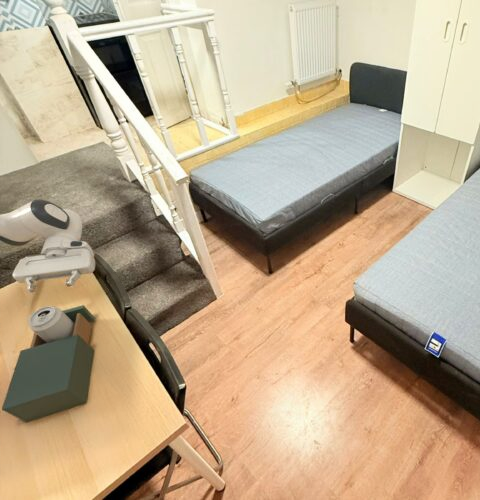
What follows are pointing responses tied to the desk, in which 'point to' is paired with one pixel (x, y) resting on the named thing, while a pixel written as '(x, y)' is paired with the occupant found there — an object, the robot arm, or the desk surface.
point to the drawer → (81, 321)
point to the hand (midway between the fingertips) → (50, 288)
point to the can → (51, 324)
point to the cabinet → (50, 379)
